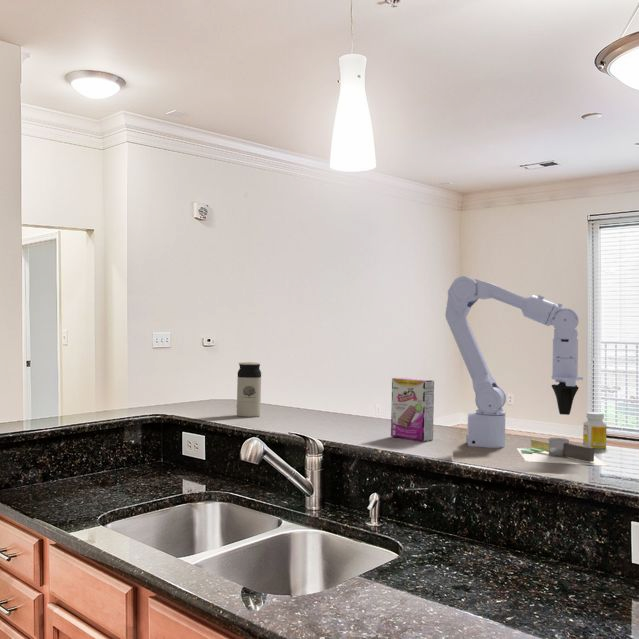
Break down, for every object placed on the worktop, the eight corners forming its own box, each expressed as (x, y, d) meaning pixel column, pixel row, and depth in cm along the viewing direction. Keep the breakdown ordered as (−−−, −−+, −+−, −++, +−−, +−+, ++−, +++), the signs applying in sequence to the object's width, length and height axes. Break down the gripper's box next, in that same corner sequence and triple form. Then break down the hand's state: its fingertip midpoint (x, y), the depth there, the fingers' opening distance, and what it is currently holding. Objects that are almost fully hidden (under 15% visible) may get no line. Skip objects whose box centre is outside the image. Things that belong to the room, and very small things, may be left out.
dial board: (525, 465, 142) (525, 459, 142) (516, 452, 159) (516, 447, 159) (607, 470, 139) (607, 464, 139) (589, 456, 156) (589, 450, 156)
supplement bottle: (579, 450, 163) (579, 412, 164) (589, 448, 167) (590, 411, 167) (599, 453, 159) (600, 414, 159) (610, 451, 163) (610, 413, 163)
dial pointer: (524, 449, 155) (525, 434, 155) (537, 448, 158) (538, 433, 158) (584, 462, 140) (585, 445, 140) (598, 460, 142) (598, 444, 142)
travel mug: (240, 414, 223) (241, 362, 223) (262, 414, 222) (263, 362, 222) (233, 416, 215) (235, 362, 216) (257, 417, 214) (258, 363, 214)
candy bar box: (389, 437, 179) (390, 377, 179) (400, 435, 183) (401, 377, 183) (423, 442, 171) (424, 380, 172) (434, 440, 175) (435, 379, 175)
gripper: (589, 359, 148) (589, 418, 148) (576, 357, 163) (575, 411, 162) (557, 358, 150) (556, 417, 149) (546, 356, 164) (546, 410, 164)
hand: (564, 414), depth 156 cm, fingers closed
